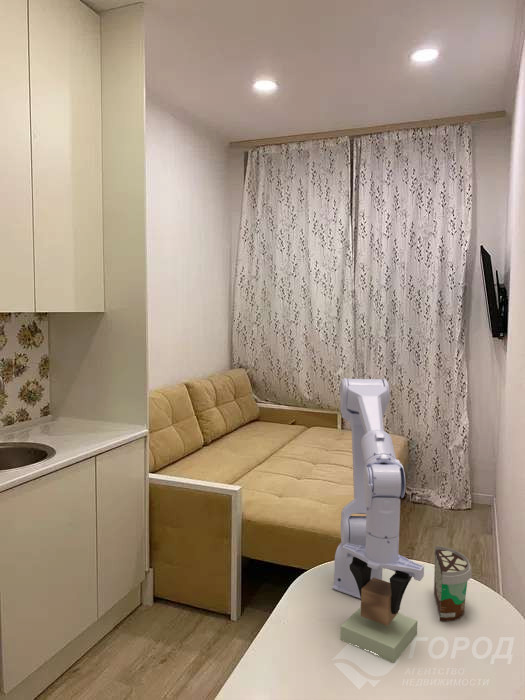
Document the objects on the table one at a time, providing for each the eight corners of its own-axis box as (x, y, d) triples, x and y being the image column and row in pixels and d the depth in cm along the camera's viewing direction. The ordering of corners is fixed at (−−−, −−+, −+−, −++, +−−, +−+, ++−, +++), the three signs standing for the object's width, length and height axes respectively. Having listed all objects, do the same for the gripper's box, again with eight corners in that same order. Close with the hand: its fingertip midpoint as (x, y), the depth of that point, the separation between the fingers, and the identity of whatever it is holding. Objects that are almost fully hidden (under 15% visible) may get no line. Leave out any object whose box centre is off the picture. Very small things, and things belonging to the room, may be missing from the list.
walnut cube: (360, 615, 93) (361, 588, 93) (372, 603, 98) (373, 577, 97) (387, 626, 91) (388, 598, 90) (398, 612, 95) (399, 585, 94)
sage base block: (340, 642, 94) (340, 625, 93) (366, 616, 101) (366, 601, 101) (393, 665, 87) (394, 648, 87) (416, 636, 95) (417, 620, 95)
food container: (475, 629, 97) (478, 577, 96) (440, 625, 98) (442, 573, 97) (464, 594, 109) (466, 547, 108) (433, 590, 110) (434, 544, 109)
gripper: (334, 528, 94) (333, 602, 95) (414, 551, 85) (411, 631, 86) (352, 516, 100) (350, 585, 101) (429, 536, 91) (426, 612, 92)
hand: (380, 605), depth 94 cm, fingers open, 5 cm apart
